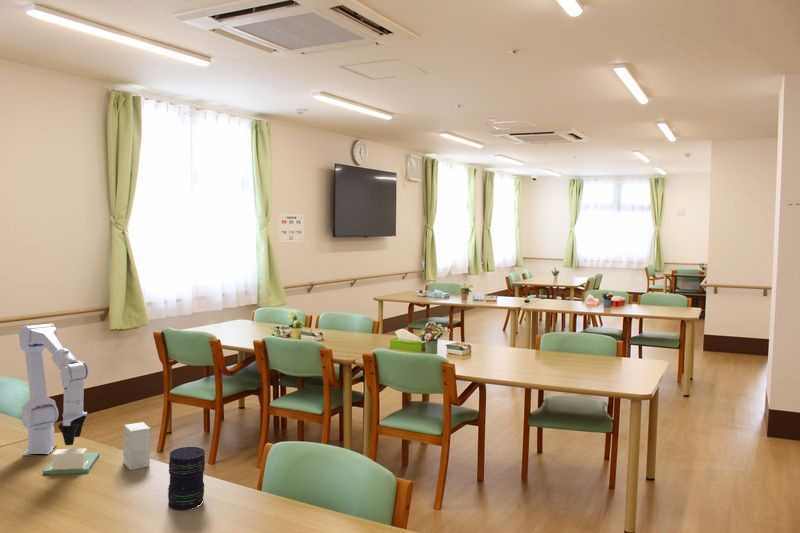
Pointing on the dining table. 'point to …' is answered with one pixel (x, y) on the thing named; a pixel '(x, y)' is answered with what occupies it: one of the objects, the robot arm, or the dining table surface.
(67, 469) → the board
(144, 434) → the small box
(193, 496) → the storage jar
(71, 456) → the block
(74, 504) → the dining table surface
